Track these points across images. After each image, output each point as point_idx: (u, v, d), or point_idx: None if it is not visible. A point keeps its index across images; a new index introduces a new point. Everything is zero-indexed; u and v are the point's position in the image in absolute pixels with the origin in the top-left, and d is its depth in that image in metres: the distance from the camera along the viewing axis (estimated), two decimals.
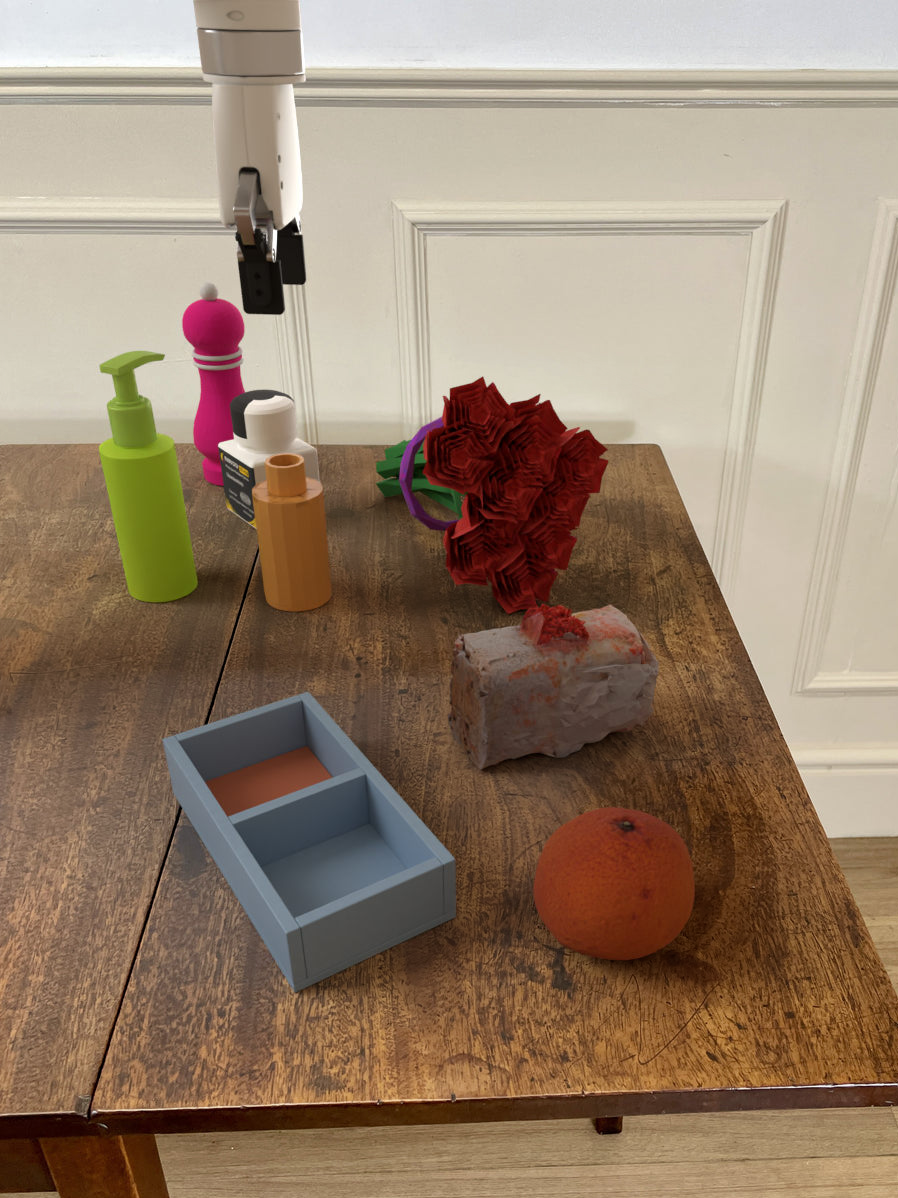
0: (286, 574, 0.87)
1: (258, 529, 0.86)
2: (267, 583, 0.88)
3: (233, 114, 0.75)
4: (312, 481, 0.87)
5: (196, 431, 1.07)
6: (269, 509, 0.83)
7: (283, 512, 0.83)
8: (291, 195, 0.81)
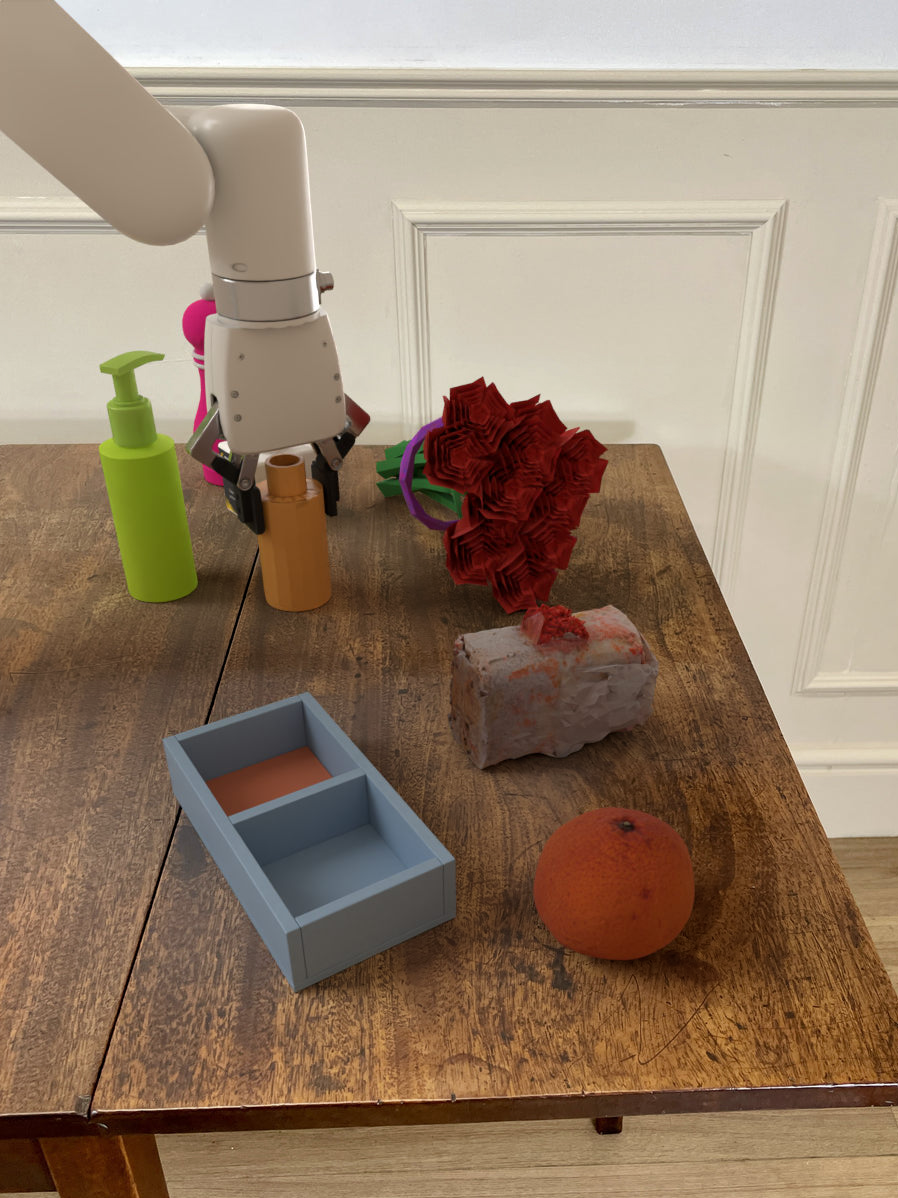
0: (286, 574, 0.87)
1: None
2: (267, 583, 0.88)
3: (207, 346, 0.77)
4: (312, 481, 0.87)
5: None
6: (269, 509, 0.83)
7: (283, 512, 0.83)
8: (273, 426, 0.80)
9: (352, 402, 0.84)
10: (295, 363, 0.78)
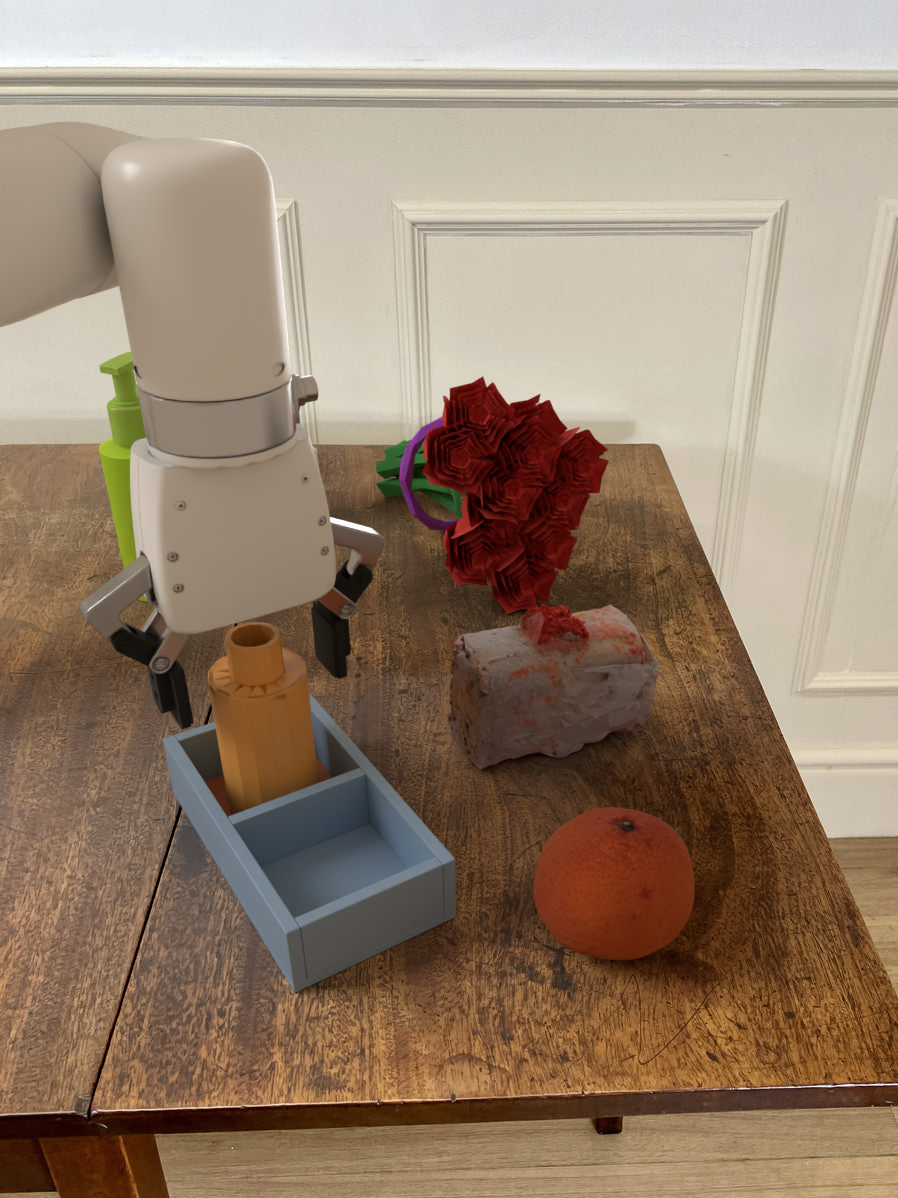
0: (256, 785, 0.63)
1: (217, 726, 0.62)
2: (231, 793, 0.64)
3: (133, 487, 0.53)
4: (293, 656, 0.63)
5: None
6: (231, 705, 0.60)
7: (250, 710, 0.59)
8: (231, 595, 0.56)
9: (353, 531, 0.60)
10: (262, 509, 0.54)
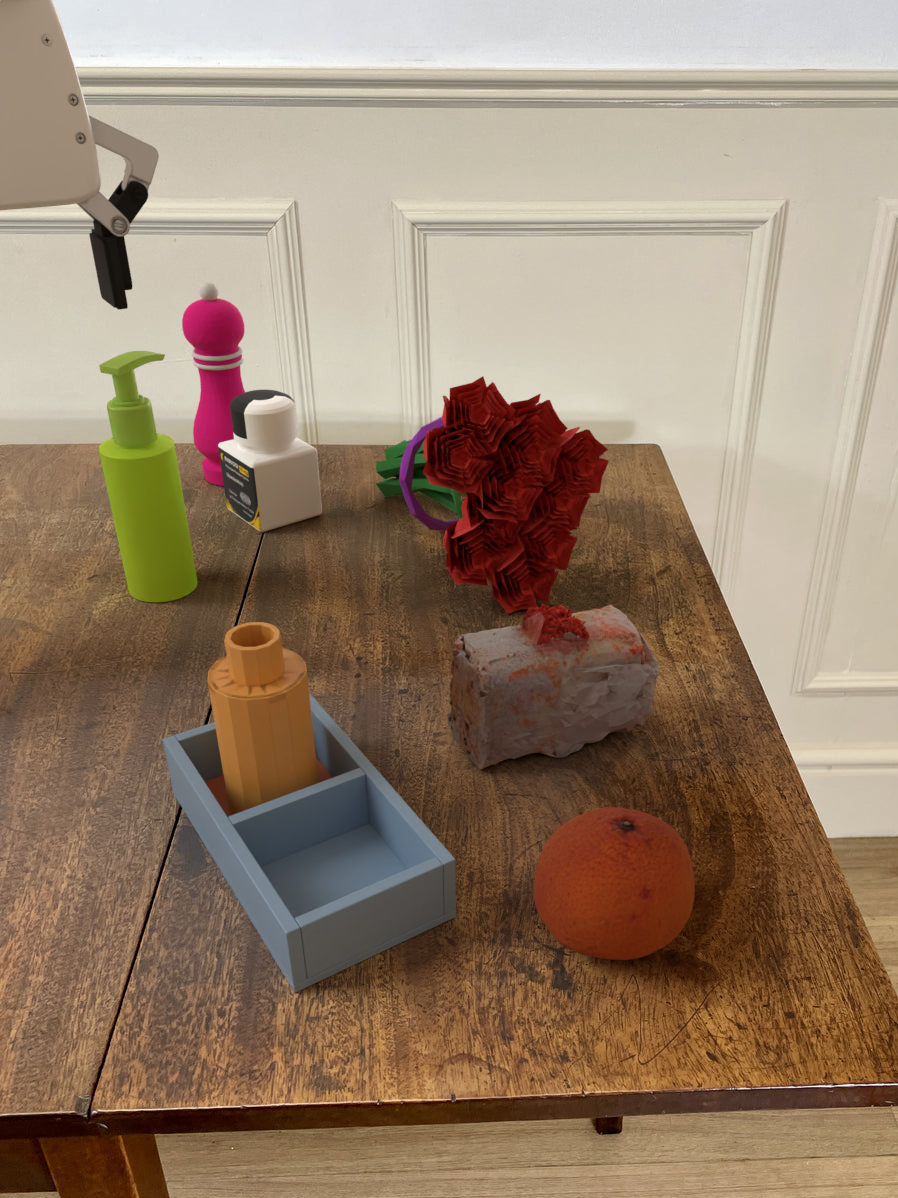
0: (256, 785, 0.63)
1: (217, 726, 0.62)
2: (231, 793, 0.64)
3: None
4: (293, 656, 0.63)
5: (196, 431, 1.07)
6: (231, 705, 0.60)
7: (250, 710, 0.59)
8: None
9: (119, 133, 0.58)
10: None
